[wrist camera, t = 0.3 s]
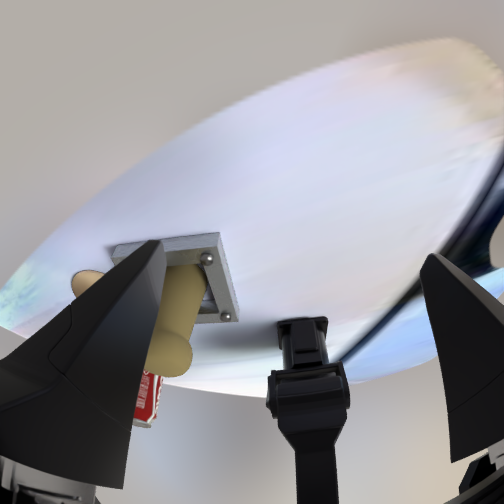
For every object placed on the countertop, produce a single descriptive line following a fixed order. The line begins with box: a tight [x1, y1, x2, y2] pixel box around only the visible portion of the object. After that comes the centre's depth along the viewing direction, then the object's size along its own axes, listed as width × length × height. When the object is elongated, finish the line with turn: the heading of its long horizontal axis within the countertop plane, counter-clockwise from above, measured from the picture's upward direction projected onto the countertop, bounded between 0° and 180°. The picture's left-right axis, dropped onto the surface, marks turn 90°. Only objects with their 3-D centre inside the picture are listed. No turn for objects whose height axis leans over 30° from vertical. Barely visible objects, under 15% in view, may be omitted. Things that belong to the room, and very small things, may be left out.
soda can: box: [132, 369, 163, 428], centre depth 38 cm, size 7×7×12 cm
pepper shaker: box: [144, 264, 208, 377], centre depth 25 cm, size 6×6×11 cm
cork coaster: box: [72, 270, 105, 298], centre depth 31 cm, size 9×9×1 cm
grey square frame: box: [111, 233, 239, 324], centre depth 28 cm, size 11×11×2 cm
